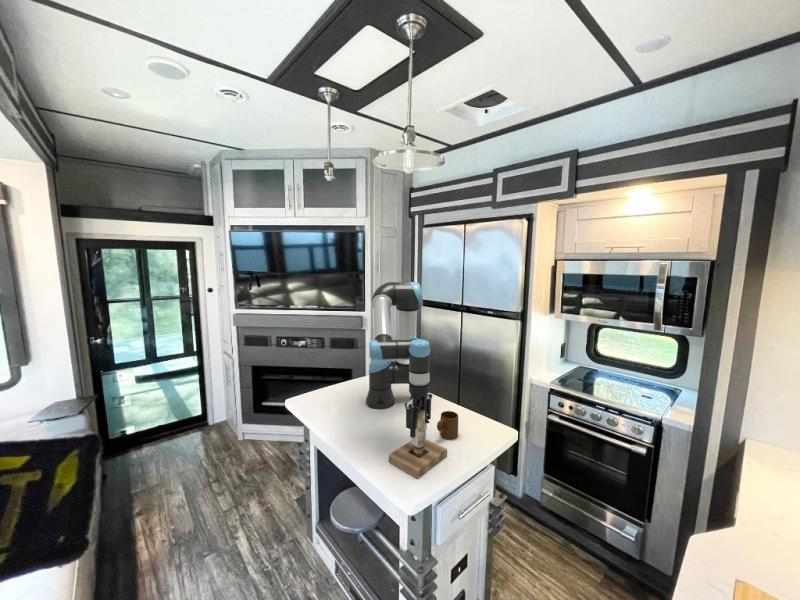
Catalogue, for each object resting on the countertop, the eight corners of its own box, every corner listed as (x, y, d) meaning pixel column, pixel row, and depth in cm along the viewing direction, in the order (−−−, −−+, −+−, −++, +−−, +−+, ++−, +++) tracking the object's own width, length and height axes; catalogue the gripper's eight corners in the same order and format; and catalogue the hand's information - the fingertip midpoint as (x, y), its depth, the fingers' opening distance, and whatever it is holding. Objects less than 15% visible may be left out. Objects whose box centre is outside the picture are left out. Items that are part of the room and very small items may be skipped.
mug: (444, 446, 133) (445, 424, 132) (430, 439, 138) (430, 418, 137) (461, 435, 142) (462, 414, 140) (447, 429, 147) (447, 409, 146)
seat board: (418, 442, 136) (418, 435, 135) (447, 456, 126) (447, 448, 126) (388, 462, 123) (388, 454, 122) (417, 479, 113) (417, 471, 113)
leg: (417, 446, 127) (418, 407, 125) (427, 451, 124) (427, 411, 122) (409, 451, 124) (410, 411, 122) (419, 456, 121) (419, 415, 119)
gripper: (425, 373, 130) (424, 429, 133) (395, 386, 117) (395, 447, 120) (441, 378, 125) (440, 436, 128) (411, 391, 112) (411, 455, 115)
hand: (418, 441), depth 124 cm, fingers closed on leg, 4 cm apart
